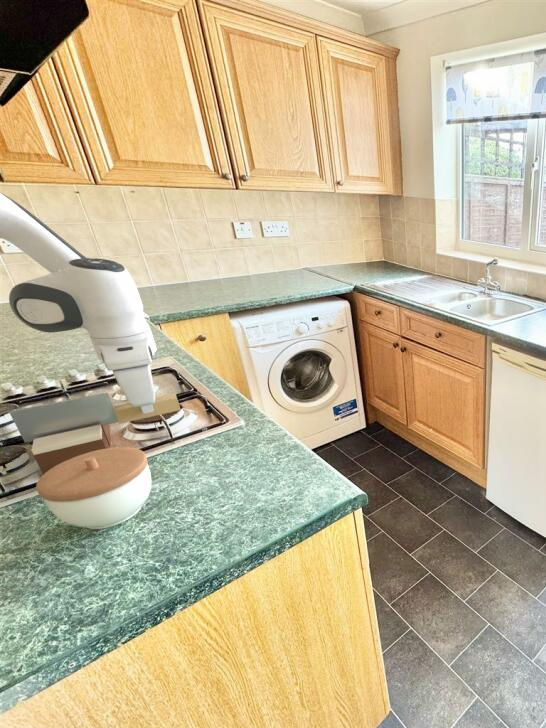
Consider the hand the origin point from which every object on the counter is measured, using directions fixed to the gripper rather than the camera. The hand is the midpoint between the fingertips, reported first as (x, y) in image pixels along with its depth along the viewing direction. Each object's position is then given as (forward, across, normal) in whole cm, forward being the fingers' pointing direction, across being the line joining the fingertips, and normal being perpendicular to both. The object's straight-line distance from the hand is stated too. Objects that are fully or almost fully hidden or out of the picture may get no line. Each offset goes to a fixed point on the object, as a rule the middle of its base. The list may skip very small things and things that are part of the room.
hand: (147, 407), depth 87 cm
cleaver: (+2, 0, -6) cm, 7 cm away
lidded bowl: (+7, +24, -8) cm, 26 cm away
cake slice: (+7, +3, -12) cm, 14 cm away
